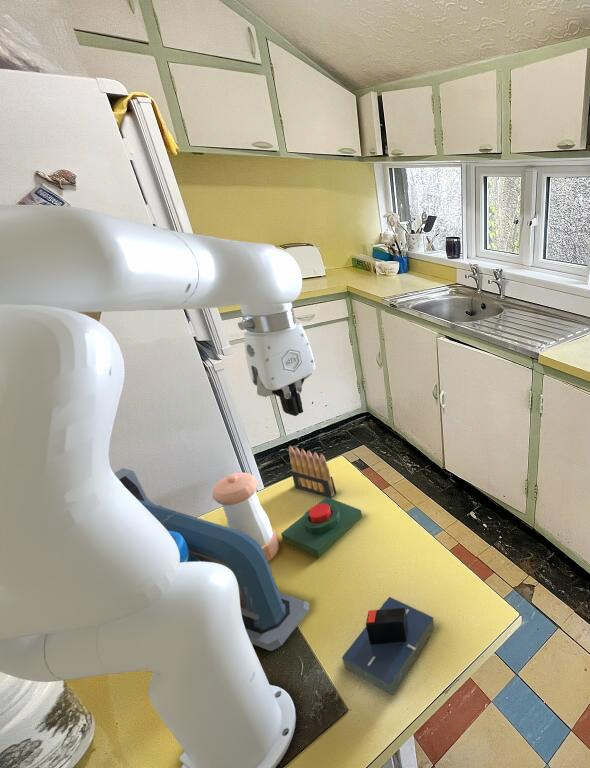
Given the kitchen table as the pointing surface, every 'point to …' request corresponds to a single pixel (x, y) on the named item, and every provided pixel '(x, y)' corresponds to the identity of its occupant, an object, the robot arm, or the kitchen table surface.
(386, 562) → the kitchen table surface
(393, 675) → the switch base
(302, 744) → the kitchen table surface
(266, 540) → the salt shaker
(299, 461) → the ammunition clip
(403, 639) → the switch handle
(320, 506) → the release button
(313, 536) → the box
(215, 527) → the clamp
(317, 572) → the kitchen table surface
